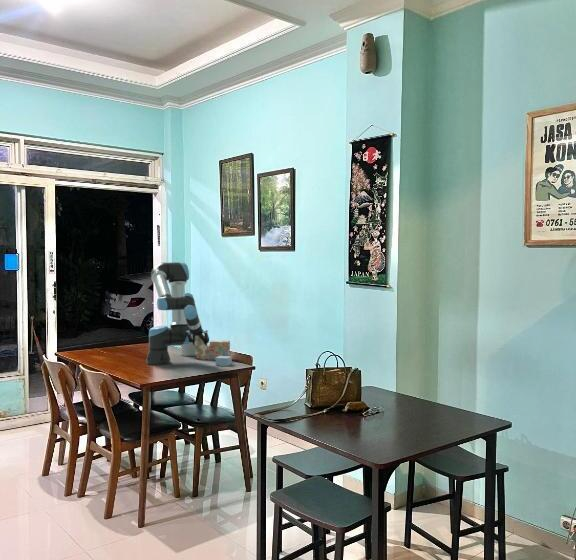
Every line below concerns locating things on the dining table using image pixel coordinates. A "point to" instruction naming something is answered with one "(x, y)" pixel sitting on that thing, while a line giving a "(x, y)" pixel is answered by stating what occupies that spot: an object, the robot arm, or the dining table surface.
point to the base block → (223, 360)
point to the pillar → (199, 346)
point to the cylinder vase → (188, 349)
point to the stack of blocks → (216, 350)
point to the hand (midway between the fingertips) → (201, 347)
